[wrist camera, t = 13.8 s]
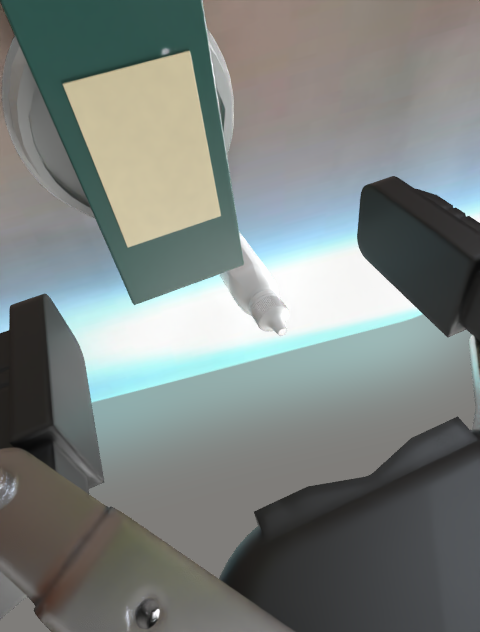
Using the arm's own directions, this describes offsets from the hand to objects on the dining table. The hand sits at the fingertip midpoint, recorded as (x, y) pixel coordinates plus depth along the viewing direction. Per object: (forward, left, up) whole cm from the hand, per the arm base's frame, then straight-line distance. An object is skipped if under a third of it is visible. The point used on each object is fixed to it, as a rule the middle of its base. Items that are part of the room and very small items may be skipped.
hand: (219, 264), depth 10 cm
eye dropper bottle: (+7, +15, -22) cm, 28 cm away
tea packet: (0, 0, -10) cm, 10 cm away
